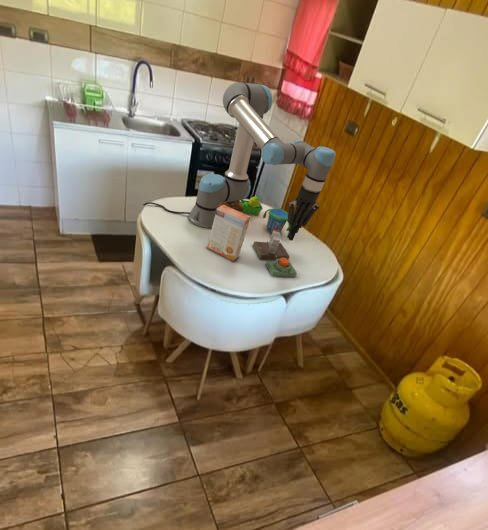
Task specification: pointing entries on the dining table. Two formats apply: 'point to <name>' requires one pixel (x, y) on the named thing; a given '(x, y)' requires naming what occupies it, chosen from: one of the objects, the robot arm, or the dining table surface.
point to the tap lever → (274, 241)
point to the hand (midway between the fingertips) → (289, 238)
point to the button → (283, 262)
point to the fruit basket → (251, 206)
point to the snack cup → (276, 219)
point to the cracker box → (228, 232)
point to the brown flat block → (263, 251)
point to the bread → (233, 205)
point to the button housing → (280, 269)
